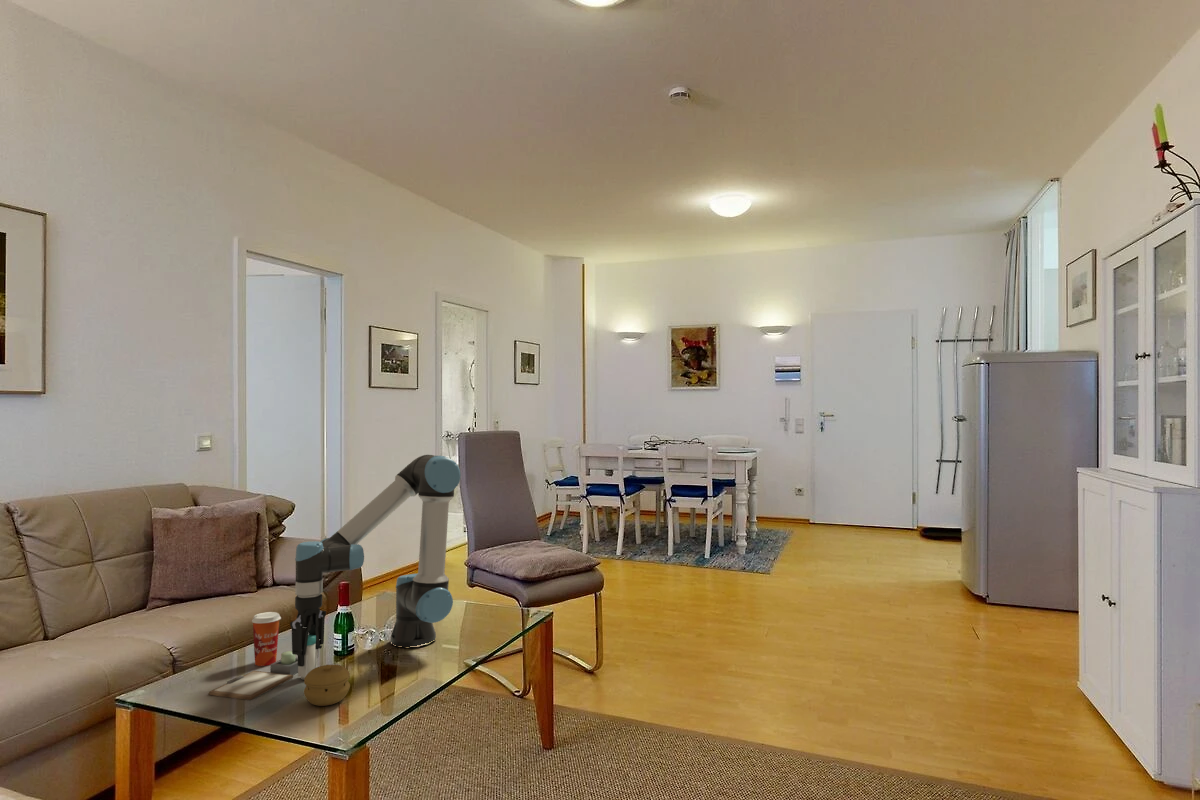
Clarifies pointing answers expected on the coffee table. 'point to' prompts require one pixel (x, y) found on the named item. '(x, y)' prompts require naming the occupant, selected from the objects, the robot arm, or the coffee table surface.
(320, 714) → the coffee table surface
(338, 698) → the pot
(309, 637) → the marker
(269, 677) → the drawing board
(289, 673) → the button housing
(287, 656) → the button
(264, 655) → the coffee cup
